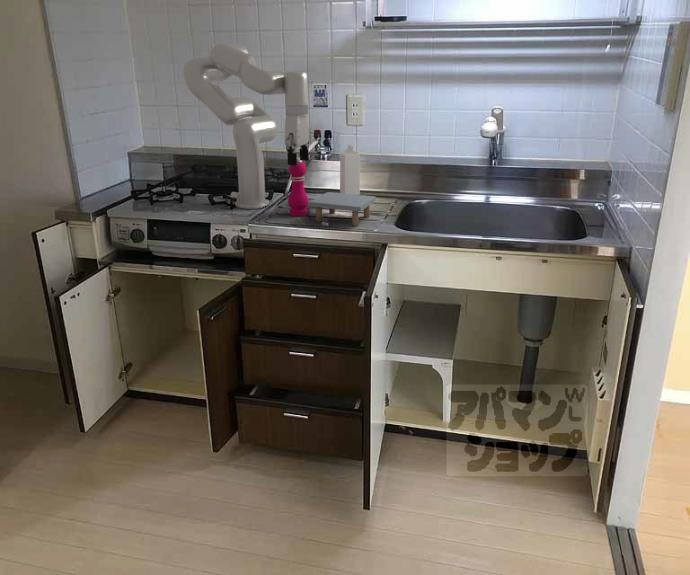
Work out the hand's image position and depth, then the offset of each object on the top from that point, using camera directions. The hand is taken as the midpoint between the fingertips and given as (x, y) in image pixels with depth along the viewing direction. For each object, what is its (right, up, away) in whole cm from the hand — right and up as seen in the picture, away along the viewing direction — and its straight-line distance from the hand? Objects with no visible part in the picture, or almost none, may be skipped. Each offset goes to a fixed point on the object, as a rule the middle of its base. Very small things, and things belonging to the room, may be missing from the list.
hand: (298, 162), depth 206 cm
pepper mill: (-1, -17, +7) cm, 18 cm away
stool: (+15, -19, +2) cm, 25 cm away
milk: (+18, -12, +21) cm, 30 cm away
